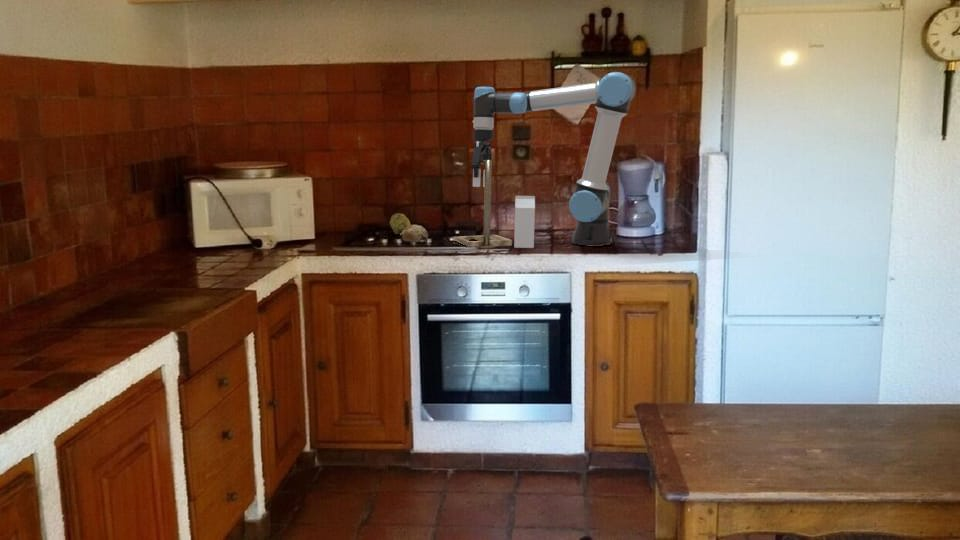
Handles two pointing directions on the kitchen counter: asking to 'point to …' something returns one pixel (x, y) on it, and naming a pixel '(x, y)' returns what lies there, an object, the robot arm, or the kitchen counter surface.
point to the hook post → (487, 204)
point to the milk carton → (524, 222)
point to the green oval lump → (399, 223)
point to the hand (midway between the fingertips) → (481, 187)
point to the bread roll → (414, 234)
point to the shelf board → (494, 240)
